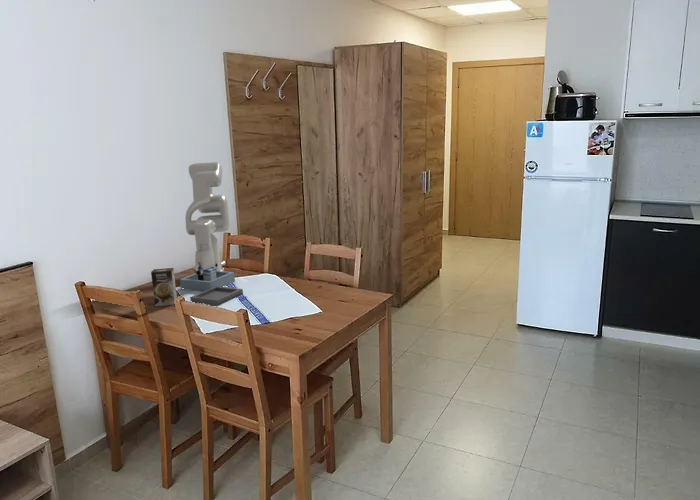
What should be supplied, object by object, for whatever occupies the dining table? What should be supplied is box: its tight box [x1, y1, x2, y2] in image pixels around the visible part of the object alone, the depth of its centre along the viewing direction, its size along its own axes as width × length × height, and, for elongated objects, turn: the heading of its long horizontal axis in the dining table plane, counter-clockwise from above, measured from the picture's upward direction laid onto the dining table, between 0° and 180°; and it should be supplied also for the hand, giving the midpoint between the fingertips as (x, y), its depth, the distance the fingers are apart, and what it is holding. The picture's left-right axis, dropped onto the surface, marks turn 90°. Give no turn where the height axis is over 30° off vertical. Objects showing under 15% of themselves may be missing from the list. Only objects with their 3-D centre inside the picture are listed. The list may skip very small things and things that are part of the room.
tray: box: [189, 286, 244, 307], centre depth 251 cm, size 18×16×2 cm
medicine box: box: [200, 268, 216, 281], centre depth 272 cm, size 8×4×9 cm, turn 68°
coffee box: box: [150, 267, 178, 307], centre depth 245 cm, size 9×6×16 cm
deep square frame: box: [179, 270, 236, 292], centre depth 273 cm, size 19×19×5 cm
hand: (207, 279), depth 273 cm, fingers open, 9 cm apart
